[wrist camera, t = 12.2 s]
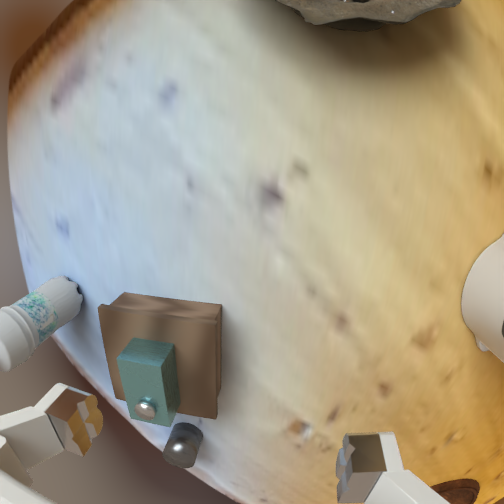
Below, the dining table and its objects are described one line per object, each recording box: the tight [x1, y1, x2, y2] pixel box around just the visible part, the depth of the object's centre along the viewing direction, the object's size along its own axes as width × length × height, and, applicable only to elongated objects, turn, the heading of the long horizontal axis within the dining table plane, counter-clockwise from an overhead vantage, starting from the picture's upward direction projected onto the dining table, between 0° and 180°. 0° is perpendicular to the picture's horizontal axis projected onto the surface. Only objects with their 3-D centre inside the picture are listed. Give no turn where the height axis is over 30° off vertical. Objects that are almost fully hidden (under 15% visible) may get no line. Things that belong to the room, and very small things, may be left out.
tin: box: [162, 422, 203, 468], centre depth 43 cm, size 5×5×6 cm
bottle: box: [0, 276, 83, 372], centre depth 31 cm, size 7×7×20 cm
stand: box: [98, 292, 222, 419], centre depth 38 cm, size 14×14×6 cm
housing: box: [116, 337, 181, 427], centre depth 33 cm, size 5×9×5 cm, turn 178°
